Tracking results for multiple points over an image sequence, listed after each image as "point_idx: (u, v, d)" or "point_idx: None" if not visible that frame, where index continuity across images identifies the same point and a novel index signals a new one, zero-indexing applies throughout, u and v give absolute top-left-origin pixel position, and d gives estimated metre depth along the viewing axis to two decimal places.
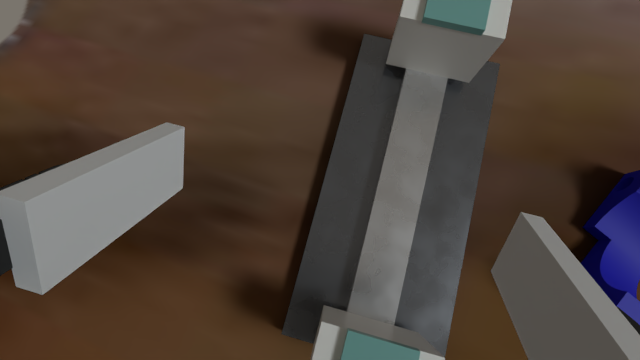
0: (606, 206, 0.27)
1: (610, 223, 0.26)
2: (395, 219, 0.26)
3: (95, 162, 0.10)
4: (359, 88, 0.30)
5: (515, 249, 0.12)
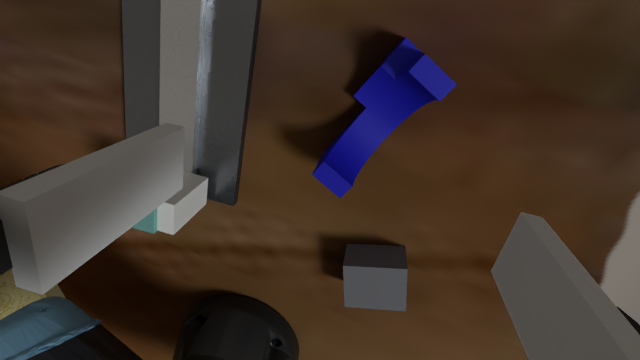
0: (371, 75, 0.29)
1: (366, 93, 0.29)
2: (179, 94, 0.31)
3: (95, 162, 0.10)
4: None
5: (515, 249, 0.12)
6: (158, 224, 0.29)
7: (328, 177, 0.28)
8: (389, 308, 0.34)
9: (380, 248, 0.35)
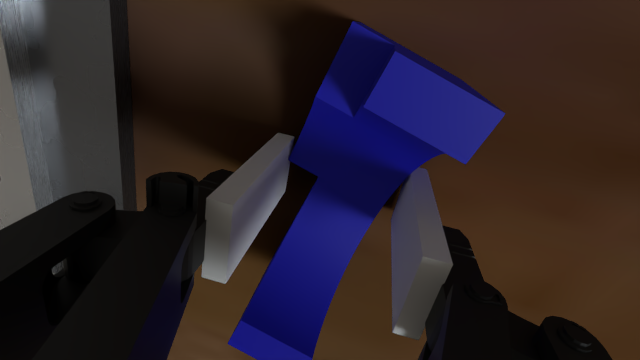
0: None
1: (310, 150, 0.14)
2: None
3: (254, 170, 0.11)
4: None
5: (402, 195, 0.14)
6: None
7: (259, 346, 0.13)
8: None
9: None
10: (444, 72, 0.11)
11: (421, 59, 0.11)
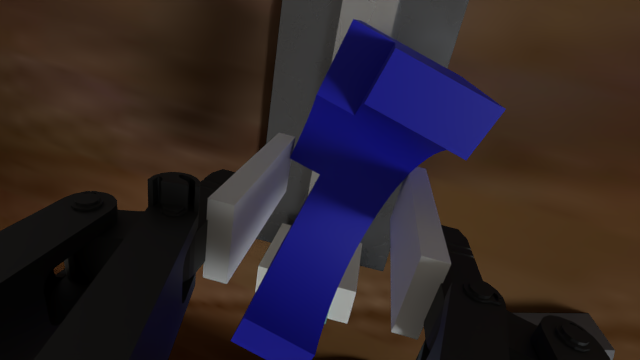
0: None
1: (312, 148, 0.14)
2: None
3: (255, 170, 0.11)
4: None
5: (401, 195, 0.14)
6: (330, 312, 0.25)
7: (262, 343, 0.13)
8: None
9: None
10: (445, 69, 0.11)
11: (422, 56, 0.11)
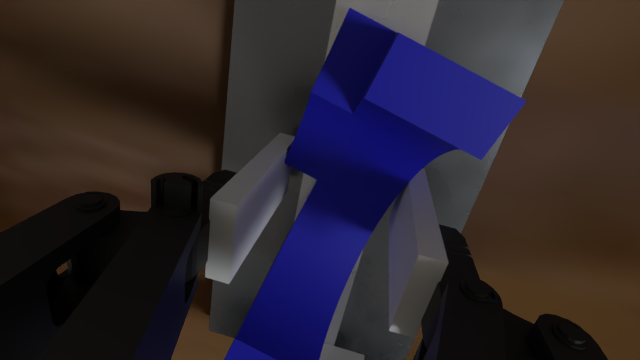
0: None
1: (307, 152, 0.13)
2: None
3: (257, 170, 0.11)
4: None
5: (399, 194, 0.14)
6: None
7: None
8: None
9: None
10: None
11: None
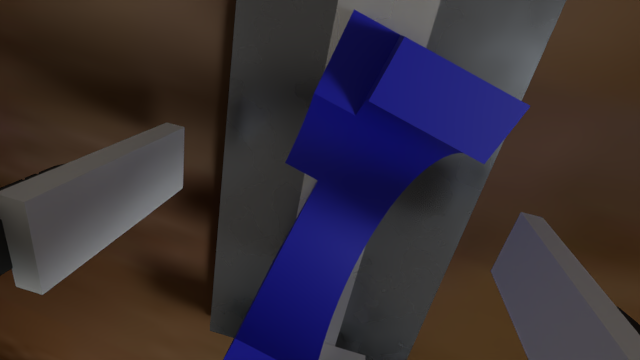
0: None
1: (309, 152, 0.13)
2: None
3: (95, 162, 0.10)
4: None
5: (515, 249, 0.12)
6: None
7: None
8: None
9: None
10: None
11: None
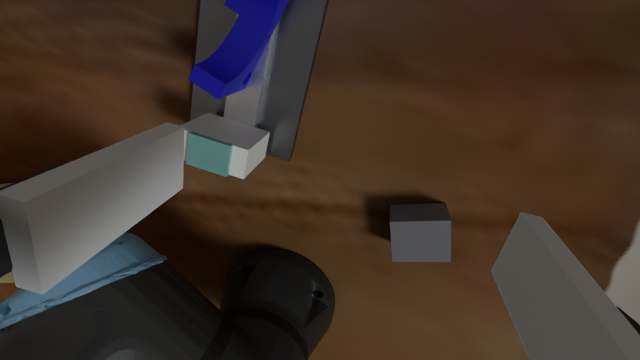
0: None
1: None
2: None
3: (95, 162, 0.10)
4: None
5: (515, 249, 0.12)
6: (230, 168, 0.32)
7: (202, 79, 0.29)
8: (434, 260, 0.37)
9: (422, 206, 0.38)
10: None
11: None
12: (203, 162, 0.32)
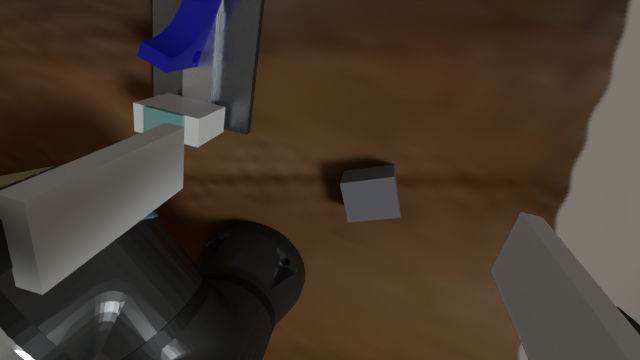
0: None
1: None
2: None
3: (95, 162, 0.10)
4: None
5: (515, 249, 0.12)
6: (185, 137, 0.35)
7: (150, 55, 0.32)
8: (386, 217, 0.39)
9: (372, 168, 0.40)
10: None
11: None
12: None
